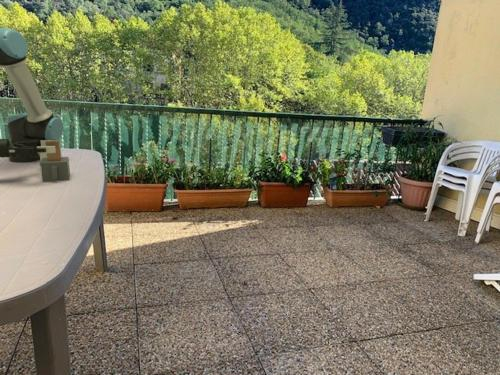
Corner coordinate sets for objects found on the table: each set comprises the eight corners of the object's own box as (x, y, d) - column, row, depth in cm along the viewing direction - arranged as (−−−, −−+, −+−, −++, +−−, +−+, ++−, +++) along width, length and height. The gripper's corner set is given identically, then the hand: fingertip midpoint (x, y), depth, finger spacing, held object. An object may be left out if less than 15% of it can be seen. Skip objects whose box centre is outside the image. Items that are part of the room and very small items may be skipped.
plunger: (50, 173, 167) (46, 140, 163) (63, 173, 169) (59, 140, 165) (49, 176, 164) (45, 142, 159) (62, 175, 165) (58, 141, 161)
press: (45, 175, 169) (42, 157, 167) (70, 174, 173) (68, 156, 171) (41, 183, 158) (39, 164, 155) (68, 182, 161) (66, 163, 159)
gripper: (5, 151, 167) (59, 149, 175) (-8, 164, 145) (55, 161, 153) (2, 134, 165) (57, 132, 173) (-11, 144, 143) (53, 142, 151)
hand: (56, 146), depth 163 cm, fingers open, 13 cm apart
